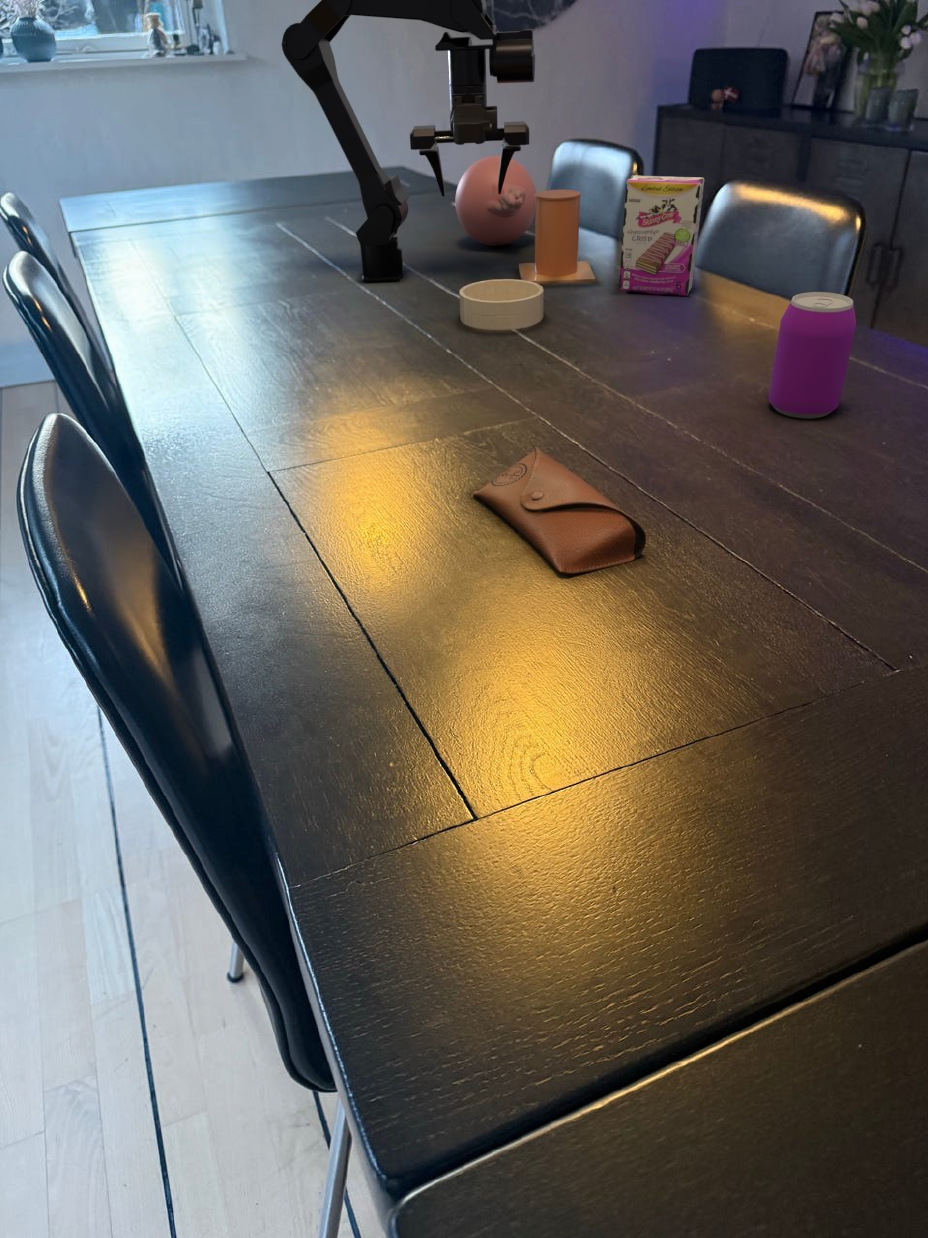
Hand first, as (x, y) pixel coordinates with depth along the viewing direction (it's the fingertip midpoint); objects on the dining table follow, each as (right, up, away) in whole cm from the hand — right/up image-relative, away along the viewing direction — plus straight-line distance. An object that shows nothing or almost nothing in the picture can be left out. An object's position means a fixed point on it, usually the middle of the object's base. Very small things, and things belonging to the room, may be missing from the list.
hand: (471, 194), depth 147 cm
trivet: (+14, -11, +5) cm, 19 cm away
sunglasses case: (+7, -61, -65) cm, 89 cm away
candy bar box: (+29, -17, -4) cm, 34 cm away
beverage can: (+37, -46, -45) cm, 74 cm away
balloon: (+6, +1, +25) cm, 25 cm away
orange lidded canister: (+14, -11, +5) cm, 19 cm away
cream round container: (+4, -25, -14) cm, 29 cm away
